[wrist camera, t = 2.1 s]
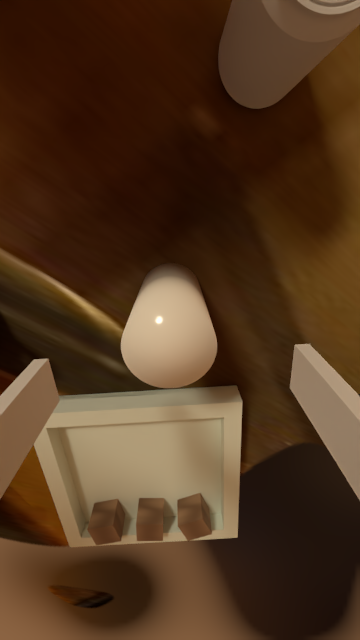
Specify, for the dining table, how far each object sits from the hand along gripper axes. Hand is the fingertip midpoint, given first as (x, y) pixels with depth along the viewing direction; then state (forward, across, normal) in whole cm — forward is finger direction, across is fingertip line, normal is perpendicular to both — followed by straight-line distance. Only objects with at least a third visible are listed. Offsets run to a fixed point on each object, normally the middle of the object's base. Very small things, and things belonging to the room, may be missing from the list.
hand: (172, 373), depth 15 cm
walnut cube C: (+14, +1, -31) cm, 34 cm away
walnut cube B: (+14, -5, -31) cm, 35 cm away
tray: (+15, -5, -24) cm, 28 cm away
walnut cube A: (+14, -11, -31) cm, 36 cm away
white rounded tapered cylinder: (+15, 0, 0) cm, 15 cm away
